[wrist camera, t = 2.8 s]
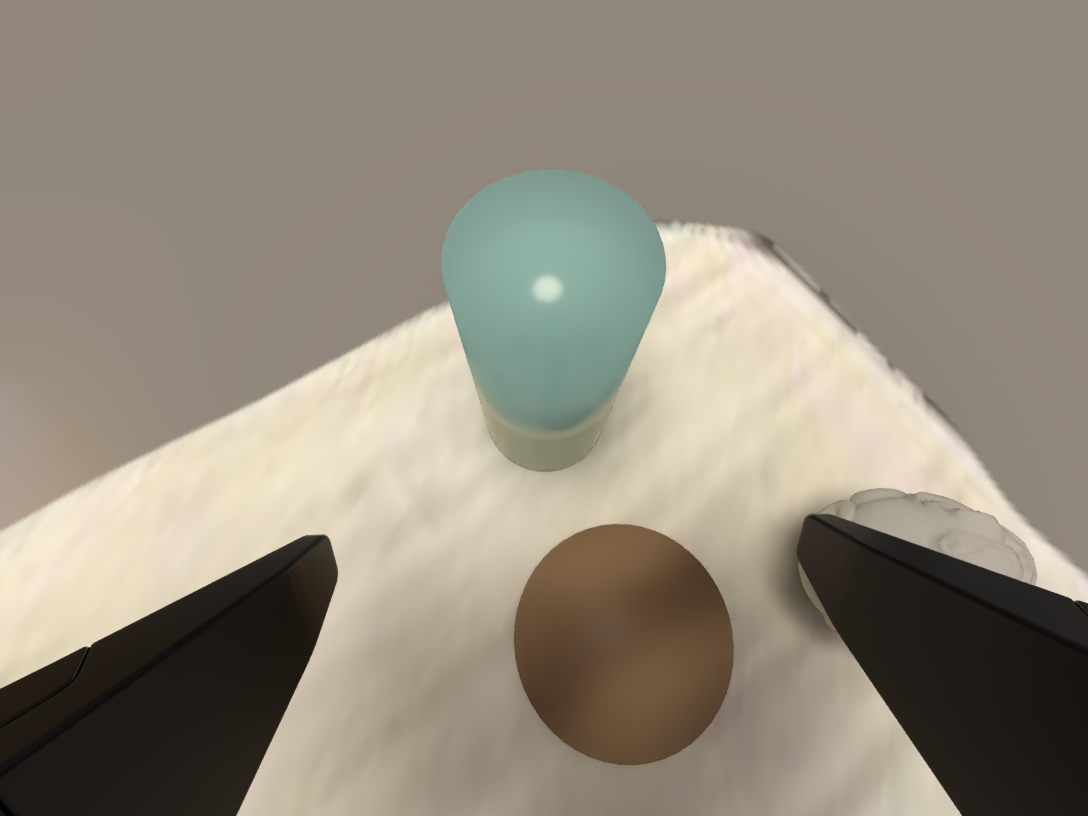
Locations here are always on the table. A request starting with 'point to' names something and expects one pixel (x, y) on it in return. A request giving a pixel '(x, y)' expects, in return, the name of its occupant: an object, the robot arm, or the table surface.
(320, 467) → the table surface
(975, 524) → the white sculpted piece
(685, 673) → the coaster
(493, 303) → the teal round cylinder
